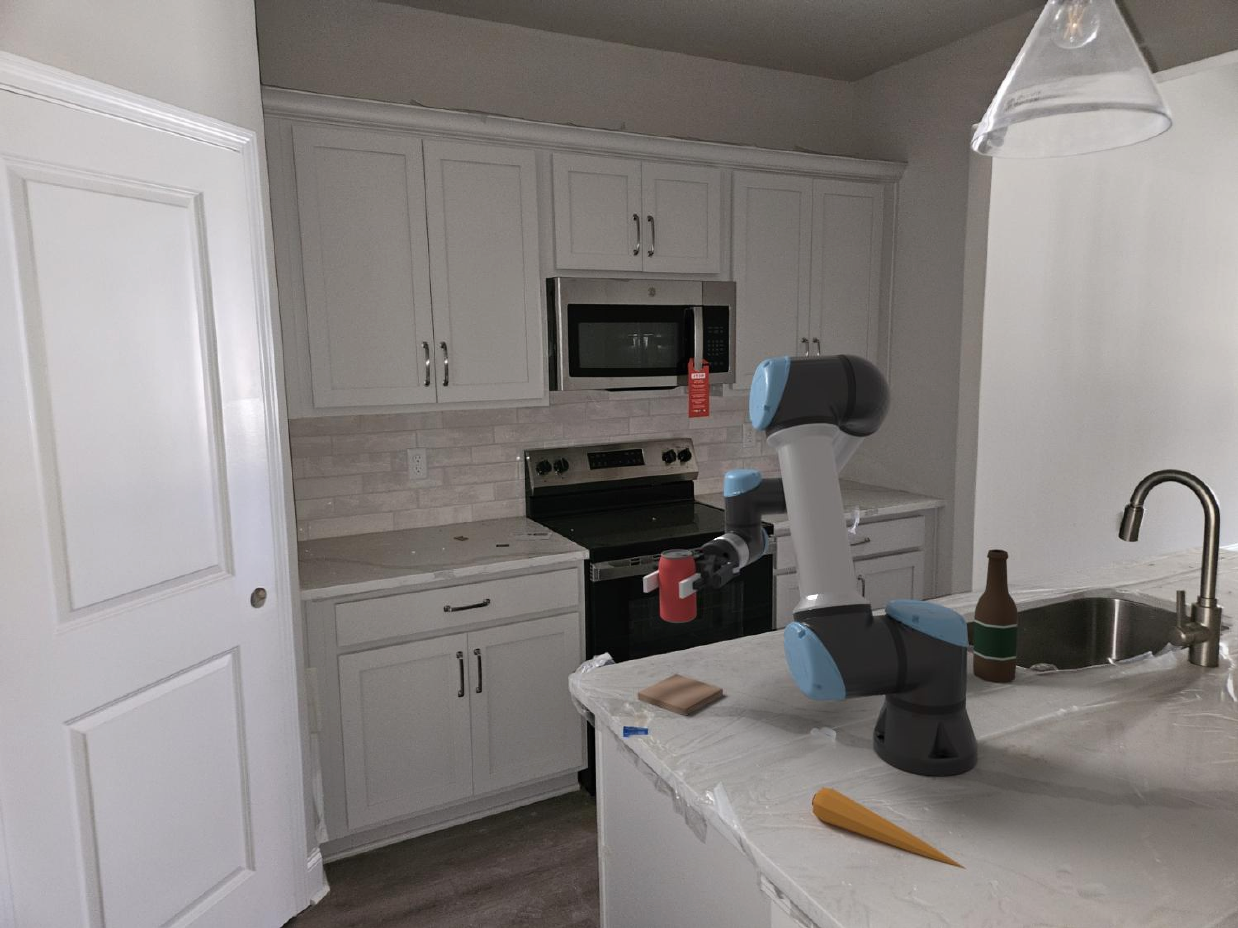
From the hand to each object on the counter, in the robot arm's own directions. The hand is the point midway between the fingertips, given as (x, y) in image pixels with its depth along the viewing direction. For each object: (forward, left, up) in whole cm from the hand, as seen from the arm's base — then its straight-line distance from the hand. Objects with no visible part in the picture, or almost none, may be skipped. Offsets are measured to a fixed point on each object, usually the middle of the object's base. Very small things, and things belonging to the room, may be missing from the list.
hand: (663, 587), depth 143 cm
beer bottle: (-39, -49, -22) cm, 66 cm away
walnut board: (+1, -5, -22) cm, 23 cm away
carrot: (-47, +12, -22) cm, 53 cm away
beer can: (+1, -5, -7) cm, 9 cm away
